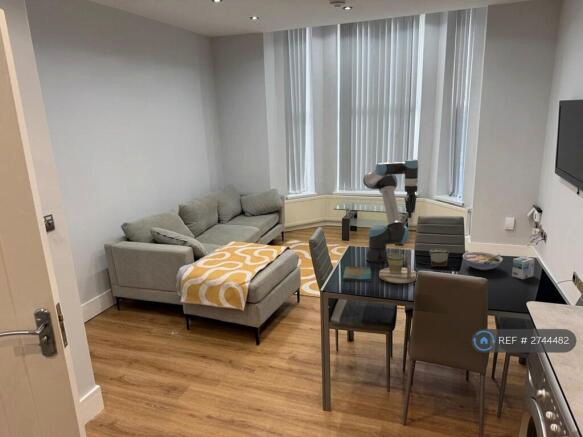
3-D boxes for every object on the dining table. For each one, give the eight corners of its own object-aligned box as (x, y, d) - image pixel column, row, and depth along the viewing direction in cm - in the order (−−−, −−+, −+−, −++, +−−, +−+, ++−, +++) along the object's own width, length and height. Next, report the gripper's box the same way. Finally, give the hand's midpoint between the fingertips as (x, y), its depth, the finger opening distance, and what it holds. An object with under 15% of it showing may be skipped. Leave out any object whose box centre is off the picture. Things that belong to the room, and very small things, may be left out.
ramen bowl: (471, 259, 267) (471, 248, 265) (508, 267, 251) (509, 254, 249) (454, 269, 250) (455, 257, 248) (493, 278, 234) (494, 264, 232)
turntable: (377, 270, 250) (377, 240, 246) (414, 270, 247) (414, 240, 243) (380, 282, 229) (380, 251, 225) (420, 283, 226) (421, 251, 222)
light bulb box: (522, 279, 229) (523, 261, 227) (511, 276, 235) (512, 258, 233) (533, 276, 234) (535, 258, 232) (522, 272, 240) (524, 255, 238)
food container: (446, 262, 264) (446, 248, 262) (448, 265, 258) (449, 250, 256) (427, 262, 265) (427, 248, 263) (429, 265, 259) (429, 251, 257)
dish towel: (342, 281, 239) (342, 277, 239) (344, 268, 262) (344, 265, 261) (371, 282, 236) (371, 278, 235) (371, 269, 258) (371, 265, 258)
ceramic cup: (391, 275, 235) (391, 259, 233) (384, 269, 244) (384, 254, 242) (411, 272, 237) (412, 256, 235) (403, 267, 247) (404, 252, 245)
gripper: (412, 186, 236) (411, 225, 241) (421, 184, 246) (420, 221, 250) (400, 186, 241) (399, 224, 246) (409, 183, 250) (409, 220, 255)
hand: (410, 222), depth 248 cm, fingers closed
